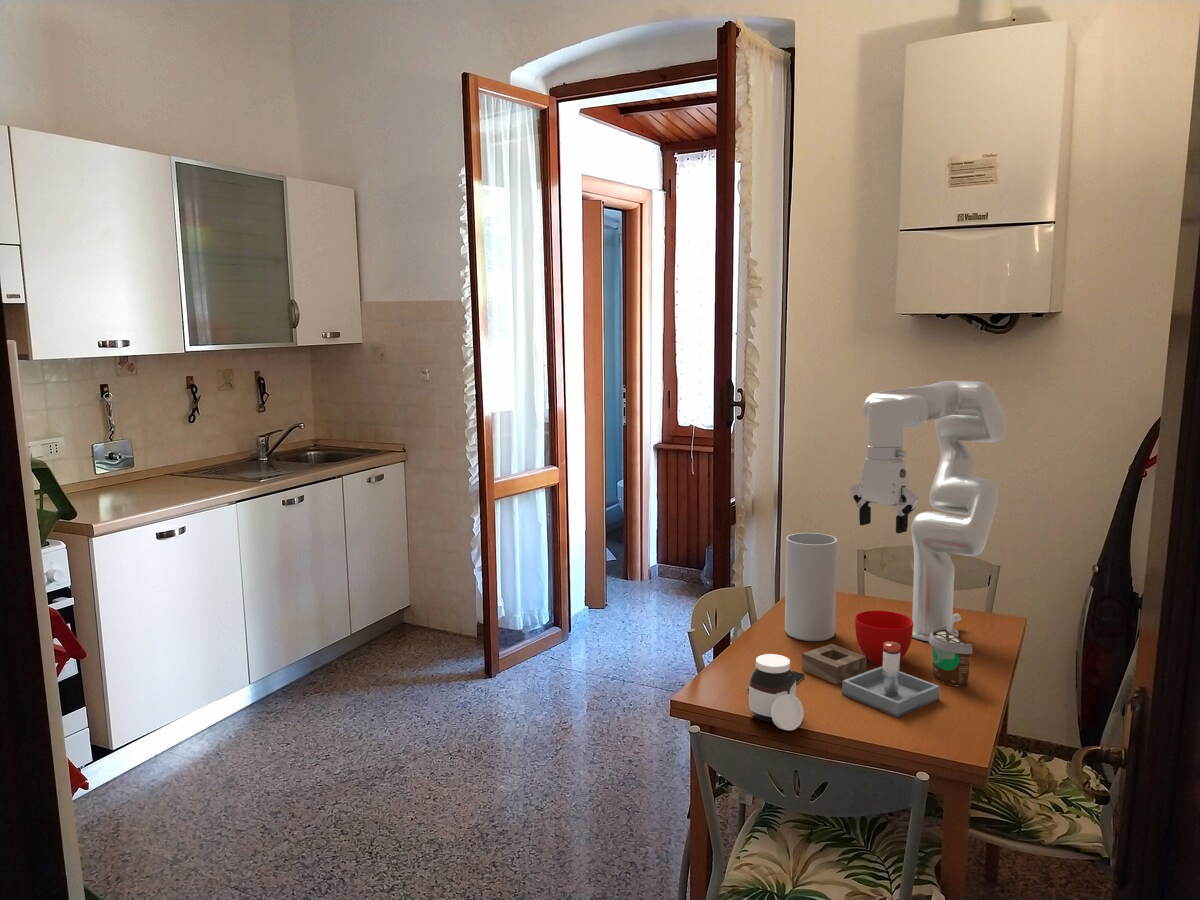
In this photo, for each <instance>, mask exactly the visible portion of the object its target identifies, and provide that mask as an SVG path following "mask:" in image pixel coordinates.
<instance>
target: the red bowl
mask: <svg viewBox="0 0 1200 900" xmlns="http://www.w3.org/2000/svg"><path fill="white" fill-rule="evenodd" d="M854 622H855V623H854V626H855V628H854V629H855V636H856V641H857V645H858V646H859V649H860V650H861V652H862V655H863V656H866V659H867V660H868V661H869V662H871V663H873V665H874V664H875V665H877V666H878V665H879V666H883V643H884V642H888V641H891V642H897V643H899V644H900V660H901V659H903V657H905V655H906V654H907V652H908V650H909V648H910V646H911V643H912V639H913V637H912V633H913V620H912V617H909V616H907V615H905V614H902V613H899V612H894V611H889V610H887V611H886V610H866V611H862V612H859V613H858V614H856V615H855V618H854Z"/></svg>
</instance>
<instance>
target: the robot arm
mask: <svg viewBox="0 0 1200 900" xmlns="http://www.w3.org/2000/svg"><path fill="white" fill-rule="evenodd" d="M862 415H863V419H864V420H865V421H866V423H867V432H866V433H867V437H866V438H867V439H866V442H867V443H866V457H865V458H864V462H863V463H862V464H863V465H862V470H861V476H860V477H861V478H860V479H861V480H860V482H858V483H856V484H854V485H853V486H850V492H851V494H852V499H853V500H854V501H855V503H856V507H857V508H859V511H858V512H859V515H858V516H859V517H858V519H859V525H860V526H865V525H870V524H871V521H872V520H871V518H872V517H871V516H872V515H871V514H872V513H871V512H872V507H871V506H869V505H870V504H871V503H873V504H879V505H884V506H890V507H894V509H895V510H896V512H897V515H895V517H896V518H895V533H896V534H903V533H906V532H907V531H908V527H909V523H908V521H909V515H910V514H911V513H912V512H913V511H914V510H915V509H916V506H917V504H918V502H919V500H920V497H919V496H918V495H917V494H915V493H913V492H912V490H910V481H909V480H910V479H909V471H908V470H909V469H908V466H907V461H906V460H904V459H903V458H905V457H906V456H907V451H906V450H904V445H903V444H904V443H903V442H904V429H916V428H919V427H921V426H923V425H924V424H925V423H926V422H929V421H934V428H935V433H936V437H937V442H938V445H939V446H938V447H939V451H940V459H939V462H938V466H937V469H936V472H935V476H934V478H933V482H932V485H931V486H930V487H931V488H930V491H929V495H928V496H929V497H928V499H929V504H930V505H931V507H932V508H934V509H935V510H938V511H924V512H920V513H918V514H917V515H915V517H914V518H913V519H912V522H911V527H910V533H911V539H912V545H913V558H914V559H913V584H912V585H913V587H912V588H913V591H912V613H911V614H912V616H911V619H912V620H913V633H912V639H913V638H914V639H916V640H920V641H923V642H929V637H930V634H931V632H932V630H933V629H935V628H937V627H942V626H946V629H947V631H948V632H949V633H951V634H952V635H955V636H957V637H958V638H959V631H958V630H957V629H956V628H954V624H955V623H957V622H960V621H961V620H962V617H961V614H959V613H953V610H954V608H953V607H954V589H955V587H954V585H955V584H954V583H955V566H954V563H953V560H952V559H951V557H950V555H949V554H954V555H958V556H959V555H960V556H967V557H976V556H979V555H980V554H981V553H982V552H983V550H984V548H985V546H986V544H987V540H988V537H989V535H990V531H991V528H992V524H993V520H994V518H995V515H996V514H995V513H996V511H997V507H998V502H999V501H998V500H999V493H998V492H999V491H998V487H997V486H996V484H995V483H994V482H993V481H991V480H989V479H986V478H981V477H976V476H975V477H974V472H975V468H976V459H975V457H974V455H973V454H972V452H971V450H970V448H968V446H967V444H966V443H965V441H966V442H975V443H977V442H978V443H998V442H999V441H1001V440H1002V439H1004V437H1005V435H1006V432H1007V428H1008V427H1007V426H1008V423H1007V416H1006V414H1005V412H1004V410H1003V407H1002V406H1001V404H1000V401H999V399H998V397H997V395H996V393H995V392H994V391H993V389H992V388H991V386H990V385H989V384H987V383H986V382H983V381H974V380H971V381H970V380H944V381H939V382H935V383H932V384H925V385H919V386H911V387H904V388H895V389H886V390H881V391H877V392H873V393H871V394H870V395H869V396H867V398H866V399H865V400H864V403H863V407H862ZM907 503H908V504H907ZM940 511H942V512H940ZM948 553H949V554H948Z"/></svg>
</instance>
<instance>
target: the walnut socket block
mask: <svg viewBox="0 0 1200 900" xmlns="http://www.w3.org/2000/svg"><path fill="white" fill-rule="evenodd" d="M801 655H802V656H801V670H802V671H803V672H805V673H808V674H811V675H813V676H815V677H817V678H820V679H822V680H825V681H827V682H830V683H831V684H834V685H839V684H842V681H843V680H846V679H848V678H851V677H854V676H857V675H859V674H862V673H865V672H867V657H866V656H865V655H864V654H860V653H858V652H855V651H853V650H849V649H848V648H844V647H841V646H838V645H836V644H834V643H830V644H827V645H824V646H820V647H817V648H814V649H812V650H809V651H808V650H807V651H805V652H802V653H801Z"/></svg>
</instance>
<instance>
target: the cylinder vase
mask: <svg viewBox="0 0 1200 900" xmlns="http://www.w3.org/2000/svg"><path fill="white" fill-rule="evenodd" d="M837 557H838V538H836V537H835V536H832V535H830V534H824V533H817V532H800V533H799V532H798V533H793V534H789V535H786V540H785V593H784V595H785V596H784V597H785V598H784V599H785V601H784V604H785V605H784V612H785V613H784V631H785V633H786V634H787V635H788V636H789V637H791V638H793V639H796V640H799V641H805V642H821V641H826V640H830V639H831V638H833V637H834V636H835V633H836V610H837V609H836V608H837V607H836V604H837V603H836V602H837V600H836V599H837V598H836V597H837V596H836V595H837V565H838V564H837Z"/></svg>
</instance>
